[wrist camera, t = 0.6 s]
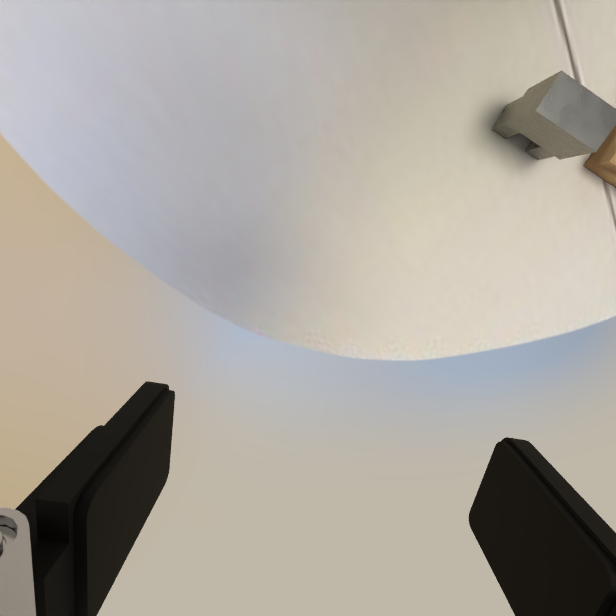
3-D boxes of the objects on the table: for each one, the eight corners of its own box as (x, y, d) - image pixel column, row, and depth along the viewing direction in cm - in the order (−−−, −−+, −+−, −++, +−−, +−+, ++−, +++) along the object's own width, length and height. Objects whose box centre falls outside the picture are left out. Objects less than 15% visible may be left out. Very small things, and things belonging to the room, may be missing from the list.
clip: (488, 131, 33) (535, 110, 26) (507, 100, 32) (561, 70, 25) (537, 163, 33) (596, 151, 27) (558, 134, 33) (623, 114, 26)
